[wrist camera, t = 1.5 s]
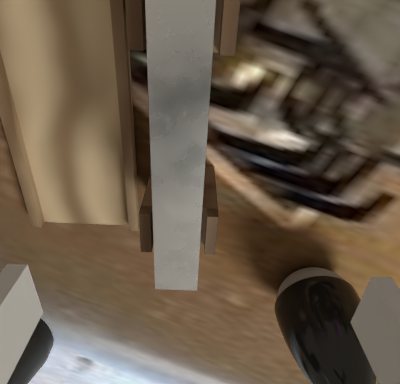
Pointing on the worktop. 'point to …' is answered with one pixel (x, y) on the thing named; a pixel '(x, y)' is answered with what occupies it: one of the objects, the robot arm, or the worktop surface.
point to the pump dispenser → (322, 327)
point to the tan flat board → (70, 109)
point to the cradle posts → (225, 46)
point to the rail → (178, 132)
